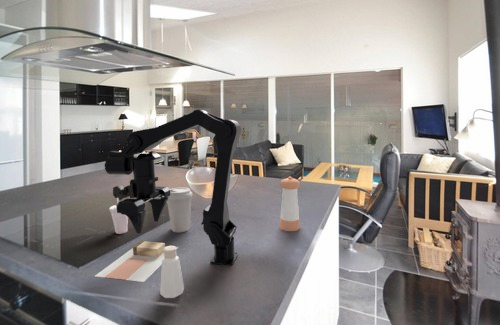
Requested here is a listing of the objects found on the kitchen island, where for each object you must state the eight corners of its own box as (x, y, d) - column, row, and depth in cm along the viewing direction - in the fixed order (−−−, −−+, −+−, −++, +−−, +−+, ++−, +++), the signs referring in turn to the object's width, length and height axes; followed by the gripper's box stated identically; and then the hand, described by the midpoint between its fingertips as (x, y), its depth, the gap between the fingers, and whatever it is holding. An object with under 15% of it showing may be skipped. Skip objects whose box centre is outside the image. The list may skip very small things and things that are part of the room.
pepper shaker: (175, 302, 60) (172, 255, 58) (155, 297, 62) (151, 251, 60) (189, 288, 65) (187, 244, 63) (170, 283, 67) (167, 241, 65)
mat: (138, 244, 88) (138, 243, 88) (178, 248, 85) (178, 246, 85) (94, 277, 70) (94, 275, 70) (144, 283, 67) (143, 281, 67)
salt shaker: (278, 230, 99) (278, 178, 96) (281, 223, 106) (281, 174, 103) (298, 232, 97) (299, 179, 94) (300, 224, 104) (301, 175, 101)
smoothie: (107, 235, 96) (103, 196, 94) (119, 228, 102) (116, 192, 100) (123, 237, 94) (120, 197, 92) (135, 229, 101) (132, 192, 99)
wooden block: (133, 254, 81) (132, 246, 80) (141, 248, 85) (140, 240, 84) (158, 257, 79) (157, 249, 79) (165, 250, 83) (164, 242, 83)
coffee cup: (165, 227, 102) (163, 188, 100) (190, 223, 106) (189, 185, 104) (169, 237, 94) (166, 194, 92) (196, 232, 98) (195, 191, 96)
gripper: (138, 168, 89) (141, 215, 91) (95, 181, 71) (101, 238, 73) (169, 169, 87) (172, 216, 89) (134, 182, 69) (138, 241, 71)
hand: (148, 226), depth 81 cm, fingers open, 9 cm apart
